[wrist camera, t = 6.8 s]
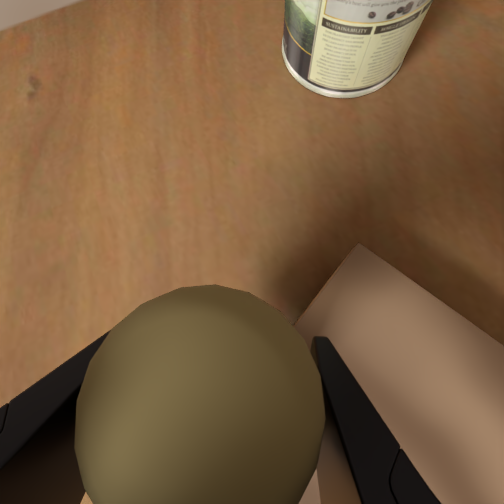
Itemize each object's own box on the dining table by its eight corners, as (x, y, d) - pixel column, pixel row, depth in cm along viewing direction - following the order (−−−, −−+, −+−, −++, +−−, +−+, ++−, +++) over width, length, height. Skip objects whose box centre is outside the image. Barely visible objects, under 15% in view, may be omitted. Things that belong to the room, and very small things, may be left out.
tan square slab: (410, 620, 18) (443, 689, 14) (210, 432, 20) (198, 453, 17) (542, 398, 20) (599, 413, 16) (345, 254, 23) (358, 242, 19)
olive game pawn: (174, 419, 16) (-35, 624, 5) (189, 296, 17) (52, 242, 6) (298, 431, 15) (370, 685, 4) (303, 304, 16) (366, 262, 6)
